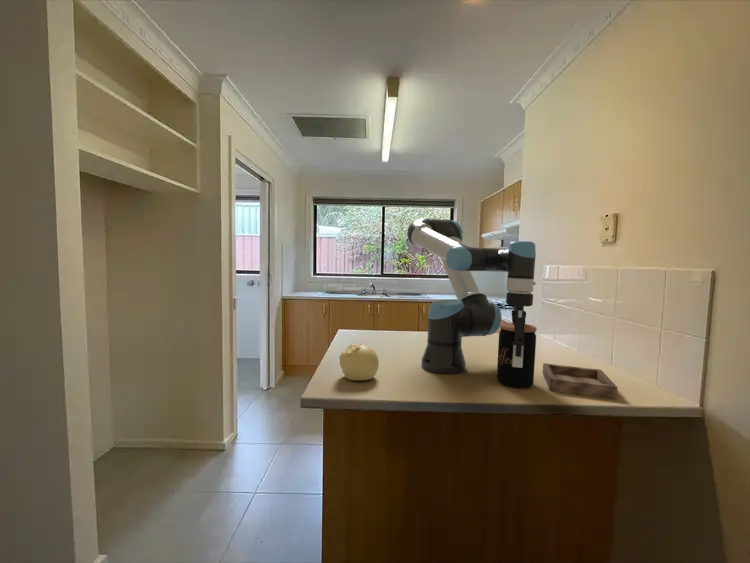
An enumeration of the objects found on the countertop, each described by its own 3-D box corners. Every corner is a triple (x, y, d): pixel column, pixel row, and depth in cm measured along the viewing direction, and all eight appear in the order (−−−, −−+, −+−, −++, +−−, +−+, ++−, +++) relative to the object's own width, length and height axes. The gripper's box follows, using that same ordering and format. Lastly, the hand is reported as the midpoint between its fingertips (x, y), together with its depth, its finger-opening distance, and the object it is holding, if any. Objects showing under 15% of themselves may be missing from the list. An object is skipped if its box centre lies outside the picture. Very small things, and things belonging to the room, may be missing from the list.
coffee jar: (491, 377, 116) (494, 322, 115) (523, 377, 116) (526, 322, 115) (505, 389, 105) (508, 329, 104) (540, 389, 106) (543, 329, 105)
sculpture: (347, 370, 119) (348, 338, 118) (382, 374, 115) (383, 341, 114) (333, 381, 108) (334, 346, 107) (371, 386, 104) (372, 350, 103)
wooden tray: (549, 390, 105) (550, 378, 105) (542, 373, 121) (543, 363, 121) (616, 399, 100) (617, 387, 100) (600, 380, 116) (600, 369, 116)
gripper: (537, 296, 96) (533, 374, 97) (529, 290, 119) (526, 352, 121) (507, 295, 98) (503, 370, 100) (505, 288, 122) (502, 350, 123)
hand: (516, 361), depth 110 cm, fingers open, 13 cm apart
